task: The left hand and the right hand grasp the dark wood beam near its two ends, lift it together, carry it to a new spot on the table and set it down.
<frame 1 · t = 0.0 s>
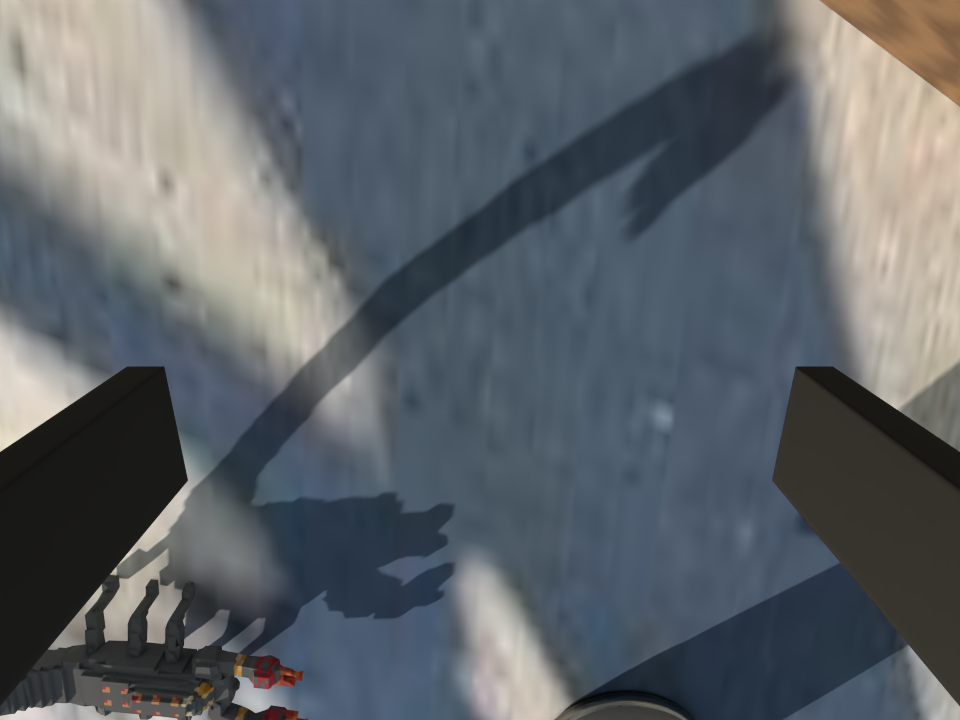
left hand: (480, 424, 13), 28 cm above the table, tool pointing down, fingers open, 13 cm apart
toy: (175, 644, 52), on the table
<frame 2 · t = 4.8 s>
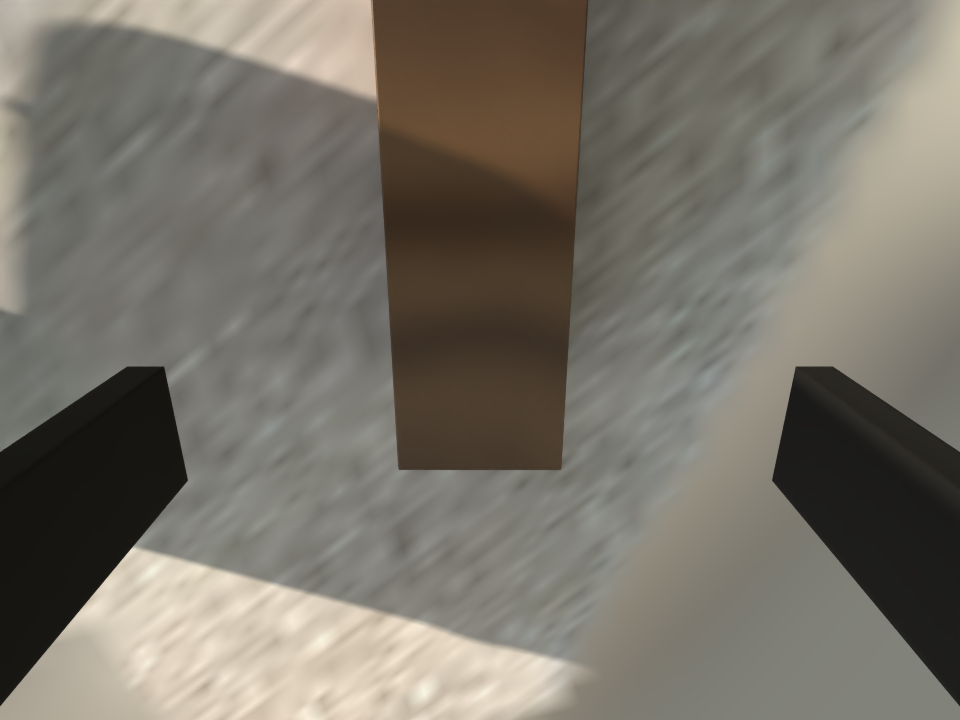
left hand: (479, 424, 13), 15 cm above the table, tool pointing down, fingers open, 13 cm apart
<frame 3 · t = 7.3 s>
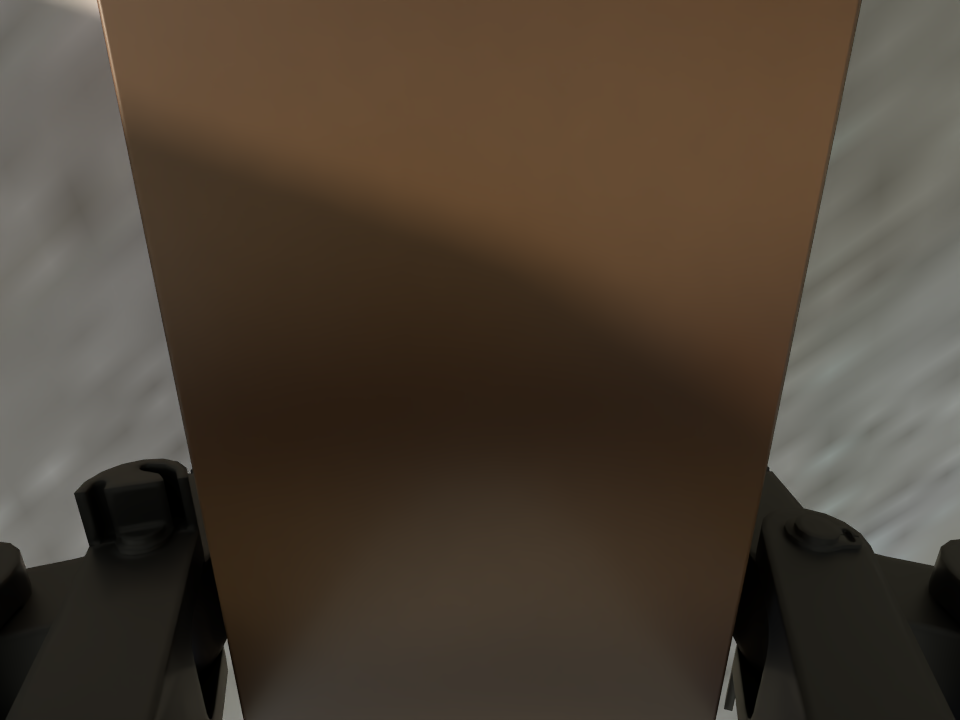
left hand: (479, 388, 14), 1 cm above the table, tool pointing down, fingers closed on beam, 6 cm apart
when the left hand's fingers open (2 cm above the table, at t = 14.7 s): beam drops 1 cm, on the table.
when the right hand's fingers open (5 cm above the table, at t = 14.9 s): beam stays where it is, on the table.
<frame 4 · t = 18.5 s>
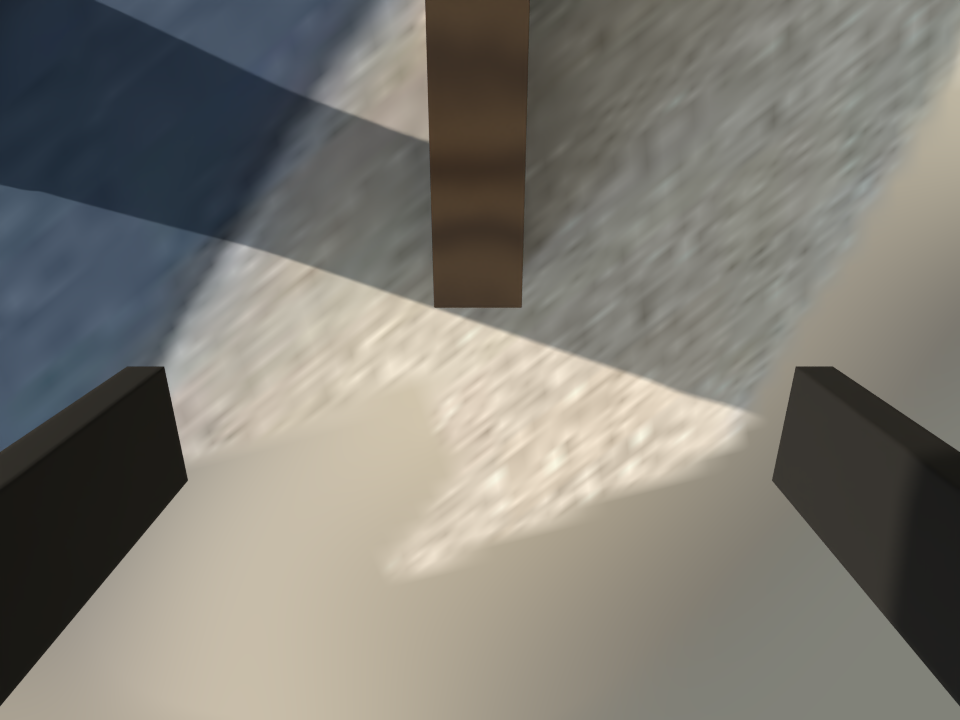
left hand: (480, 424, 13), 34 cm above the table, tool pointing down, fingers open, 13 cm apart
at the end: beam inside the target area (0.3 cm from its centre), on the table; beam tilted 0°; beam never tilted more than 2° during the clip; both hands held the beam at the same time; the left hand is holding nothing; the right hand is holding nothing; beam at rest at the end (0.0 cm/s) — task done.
